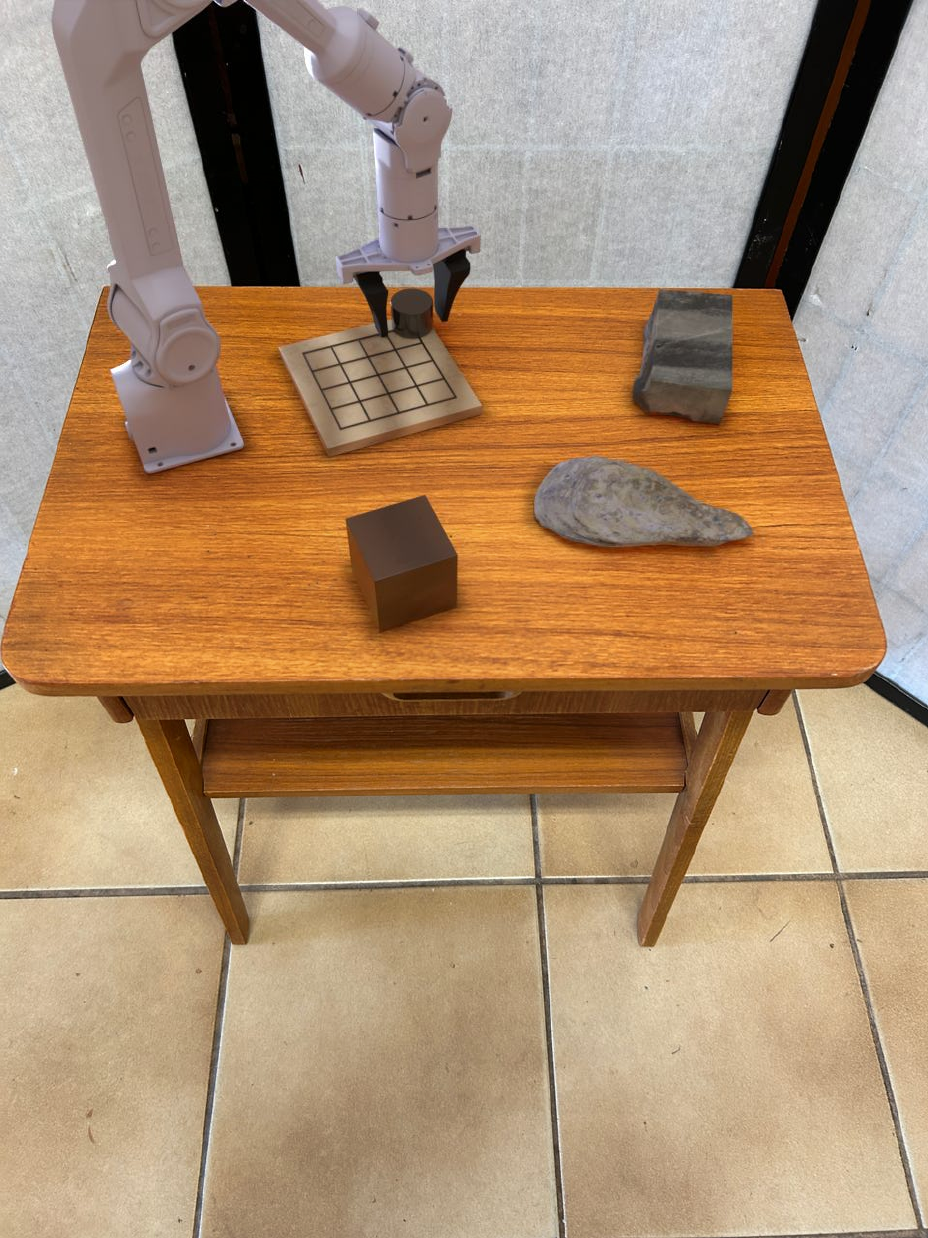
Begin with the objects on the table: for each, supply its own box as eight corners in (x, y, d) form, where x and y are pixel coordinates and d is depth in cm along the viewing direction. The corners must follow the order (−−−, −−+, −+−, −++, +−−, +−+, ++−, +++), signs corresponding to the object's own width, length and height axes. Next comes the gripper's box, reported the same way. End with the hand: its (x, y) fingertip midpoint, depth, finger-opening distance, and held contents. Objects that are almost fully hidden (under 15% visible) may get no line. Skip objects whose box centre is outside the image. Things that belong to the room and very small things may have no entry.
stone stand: (379, 633, 79) (374, 581, 73) (352, 571, 83) (345, 518, 77) (457, 607, 81) (458, 554, 75) (426, 548, 85) (425, 494, 79)
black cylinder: (400, 342, 99) (399, 318, 96) (385, 317, 101) (384, 293, 99) (439, 332, 100) (439, 308, 97) (424, 308, 102) (423, 283, 100)
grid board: (328, 457, 91) (327, 447, 90) (280, 355, 99) (278, 345, 98) (481, 414, 95) (482, 404, 94) (422, 320, 103) (422, 309, 102)
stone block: (630, 416, 95) (638, 375, 91) (638, 326, 103) (646, 284, 99) (721, 427, 94) (733, 385, 90) (721, 335, 102) (733, 293, 98)
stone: (740, 587, 85) (741, 501, 91) (754, 564, 82) (755, 476, 87) (526, 546, 85) (540, 462, 91) (533, 521, 82) (546, 436, 88)
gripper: (348, 242, 85) (359, 363, 97) (495, 209, 89) (489, 329, 100) (323, 201, 89) (337, 322, 100) (466, 171, 93) (463, 291, 104)
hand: (411, 323), depth 100 cm, fingers open, 6 cm apart
